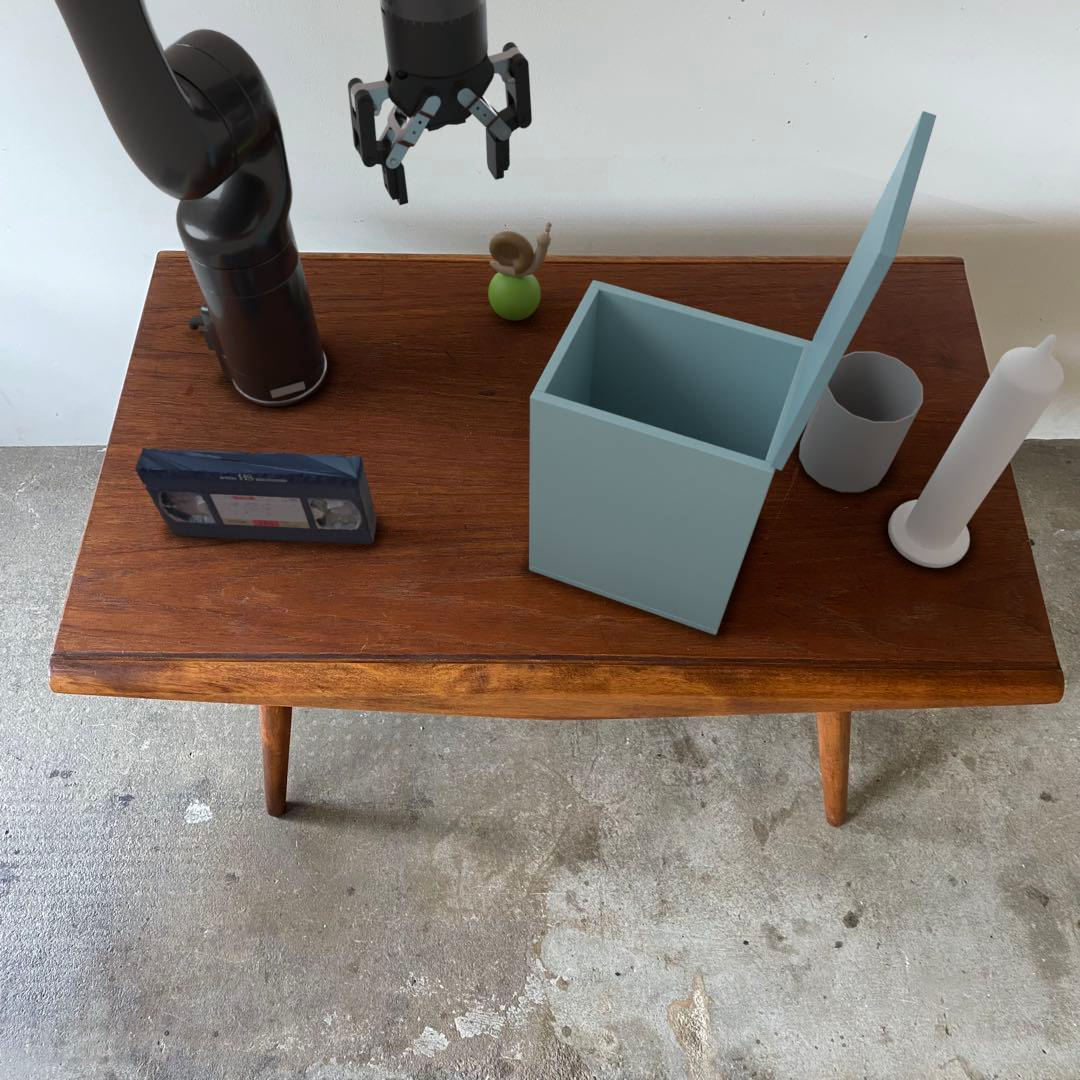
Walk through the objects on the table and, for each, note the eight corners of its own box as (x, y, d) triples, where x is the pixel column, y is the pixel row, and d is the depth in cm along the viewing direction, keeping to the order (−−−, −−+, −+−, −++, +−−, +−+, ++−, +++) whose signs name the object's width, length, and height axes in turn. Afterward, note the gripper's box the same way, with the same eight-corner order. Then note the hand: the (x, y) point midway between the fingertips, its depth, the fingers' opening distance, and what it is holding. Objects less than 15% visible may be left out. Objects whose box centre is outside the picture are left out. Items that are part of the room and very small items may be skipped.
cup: (896, 441, 93) (933, 369, 85) (875, 504, 89) (912, 435, 81) (812, 413, 95) (839, 340, 87) (787, 473, 91) (814, 402, 82)
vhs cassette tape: (170, 536, 86) (132, 468, 78) (179, 509, 88) (143, 440, 79) (373, 549, 86) (357, 483, 77) (379, 522, 87) (363, 454, 79)
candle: (952, 581, 85) (1091, 389, 64) (875, 545, 87) (987, 347, 66) (977, 525, 88) (1118, 324, 67) (903, 491, 90) (1018, 286, 69)
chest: (528, 570, 85) (529, 396, 66) (579, 465, 91) (593, 279, 72) (715, 635, 81) (774, 473, 62) (754, 521, 88) (817, 342, 69)
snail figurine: (543, 336, 100) (545, 243, 90) (483, 327, 101) (479, 234, 91) (553, 300, 103) (556, 207, 93) (495, 291, 104) (492, 198, 94)
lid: (879, 252, 47) (895, 257, 47) (922, 110, 53) (936, 115, 53) (769, 466, 62) (781, 471, 62) (814, 336, 68) (824, 340, 68)
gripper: (506, -55, 71) (509, 141, 85) (318, -17, 68) (353, 180, 81) (546, -6, 67) (543, 191, 81) (350, 37, 64) (381, 235, 78)
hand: (448, 186), depth 81 cm, fingers open, 8 cm apart
